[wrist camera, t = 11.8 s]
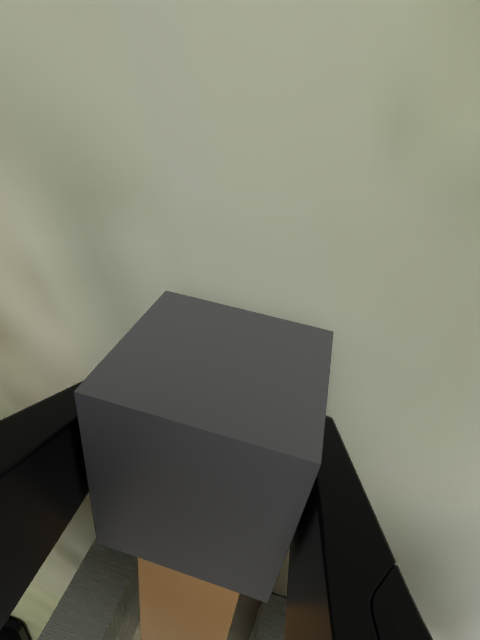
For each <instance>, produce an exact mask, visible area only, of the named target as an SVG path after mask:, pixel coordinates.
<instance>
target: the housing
mask: <svg viewBox="0 0 480 640" xmlns="http://www.w3.org/2000/svg"><path fill="white" fill-rule="evenodd" d="M286 603H287V598H284V597H281V596H278V595H275V594H272V593H271V595H270V598H269V601H268V603H265V602H263V601H262V603H261V606H260V608H259V611H258V614H257V617H256V620H255V623H254V626H253V628H252V631H251V634H250V637H249V640H284V634H285V618H286ZM139 621H140V599H139V576H138V557H136V556H133V555H130V554H127V553H124V552H121V551H119V550H116V549H113V548H110V547H107V546H105V545H102V544H99V543H97V538H96V539H95V541H94V542H93V544H92V546H91V548H90V549H89V551H88V553H87V554H86V556H85V558H84V560H83V561H82V563H81V565H80V567H79V568H78V570H77V572H76V574H75V575H74V577H73V579H72V581H71V582H70V584H69V586H68V588H67V589H66V591H65V593H64V595H63V596H62V598H61V600H60V601H59V603H58V605H57V607H56V608H55V610H54V612H53V614H52V615H51V617H50V619H49V621H48V622H47V624H46V626H45V628H44V629H43V631H42V633H41V635H40V636H39V638H38V640H132V638H133V636H134V633H135V631H136V628H137V626H138V623H139Z"/></svg>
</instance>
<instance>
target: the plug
mask: <svg viewBox="0 0 480 640" xmlns="http://www.w3.org/2000/svg"><path fill="white" fill-rule="evenodd" d="M332 340H333V331H328V330H324V329H320V328H316V327H312V326H308V325H304V324H300V323H296V322H292V321H288V320H283V319H279V318H275V317H271V316H267V315H263V314H259V313H255V312H251V311H247V310H243V309H239V308H234V307H230V306H226V305H222V304H218V303H214V302H210V301H206V300H202V299H198V298H194V297H189V296H185V295H181V294H177V293H173V292H169V291H165V292H164V293H163V294H162V296H161V297H160V298H159V299H158V300H157V301H156V302H155V303H154V304H153V305H152V306H151V308H150V309H149V310H148V311H147V312H146V313H145V314H144V315H143V316H142V317H141V318H140V320H139V321H138V322H137V323H136V324H135V325H134V326H133V327H132V328H131V329H130V331H129V332H128V333H127V334H126V335H125V336H124V337H123V338H122V339H121V340H120V341H119V343H118V344H117V345H116V346H115V347H114V348H113V349H112V350H111V351H110V352H109V354H108V355H107V356H106V357H105V358H104V359H103V360H102V361H101V362H100V363H99V364H98V366H97V367H96V368H95V369H94V370H93V371H92V372H91V373H90V374H89V375H88V376H87V378H86V379H85V380H84V381H83V382H82V383H81V384H80V385H79V386H78V387H77V389H76V390H75V391H74V396H75V402H76V409H77V415H78V422H79V428H80V435H81V441H82V448H83V454H84V461H85V467H86V473H87V480H88V486H89V493H90V499H91V506H92V512H93V519H94V525H95V532H96V538H97V543H99V544H102V545H105V546H107V547H110V548H113V549H116V550H119V551H121V552H124V553H127V554H130V555H133V556H136V557H138V576H139V599H140V622H141V640H227V637H228V633H229V630H230V626H231V623H232V619H233V616H234V612H235V608H236V605H237V601H238V598H239V594H243V595H246V596H248V597H251V598H254V599H257V600H260V601H263V602H265V603H268V601H269V598H270V595H271V593H272V590H273V588H274V585H275V582H276V580H277V577H278V575H279V572H280V569H281V567H282V564H283V562H284V559H285V556H286V554H287V551H288V549H289V546H290V544H291V541H292V538H293V536H294V533H295V531H296V528H297V525H298V523H299V520H300V518H301V515H302V512H303V510H304V507H305V505H306V502H307V499H308V497H309V494H310V492H311V489H312V487H313V484H314V481H315V479H316V476H317V474H318V471H319V468H320V466H321V459H322V448H323V438H324V427H325V416H326V405H327V394H328V384H329V373H330V362H331V351H332Z"/></svg>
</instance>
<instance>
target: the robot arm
mask: <svg viewBox="0 0 480 640" xmlns="http://www.w3.org/2000/svg"><path fill="white" fill-rule="evenodd" d="M82 382H83V381H82ZM82 382H80V383H78V384H76V385H74V386H71V387H69V388H67V389H65V390H63V391H61V392H59V393H57V394H55V395H53V396H50V397H48V398H46V399H44V400H42V401H40V402H38V403H36V404H34V405H32V406H30V407H27V408H25V409H23V410H21V411H19V412H17V413H15V414H13V415H11V416H9V417H7V418H4V419H2V420H0V640H29V639H28V637H27V635H26V632H25V630H24V628H23V626H22V625H21V624H20V623H18V622H16V621H14V620H12V619H9V618H8V617H9V616H10V614H11V613H12V611H13V610H14V608H15V607H16V605H17V603H18V602H19V600H20V599H21V597H22V596H23V594H24V592H25V591H26V589H27V588H28V586H29V585H30V583H31V581H32V580H33V578H34V577H35V575H36V574H37V572H38V571H39V569H40V567H41V566H42V564H43V563H44V561H45V560H46V558H47V556H48V555H49V553H50V552H51V550H52V549H53V547H54V545H55V544H56V542H57V541H58V539H59V538H60V536H61V535H62V533H63V531H64V530H65V528H66V527H67V525H68V524H69V522H70V520H71V519H72V517H73V516H74V514H75V513H76V511H77V509H78V508H79V506H80V505H81V503H82V502H83V500H84V498H85V497H86V495H87V494H88V492H89V486H88V480H87V473H86V467H85V461H84V454H83V448H82V441H81V435H80V428H79V422H78V415H77V409H76V402H75V396H74V391H75V390H76V389H77V387H78V386H79V385H80V384H81V383H82ZM395 563H396V561H395V558H394V556H393V554H392V552H391V549H390V547H389V545H388V543H387V540H386V538H385V536H384V534H383V531H382V529H381V527H380V524H379V522H378V520H377V518H376V515H375V513H374V511H373V509H372V506H371V504H370V502H369V500H368V497H367V495H366V493H365V491H364V488H363V486H362V484H361V482H360V479H359V477H358V475H357V473H356V470H355V468H354V466H353V463H352V461H351V459H350V457H349V454H348V452H347V450H346V448H345V445H344V443H343V441H342V439H341V436H340V434H339V432H338V430H337V427H336V425H335V423H334V421H333V419H332V418H331V417H329V416H325V427H324V438H323V448H322V459H321V466H320V468H319V471H318V474H317V476H316V479H315V481H314V484H313V487H312V489H311V492H310V494H309V497H308V499H307V502H306V505H305V507H304V510H303V512H302V515H301V518H300V520H299V523H298V525H297V528H296V531H295V533H294V536H293V538H292V541H291V544H290V556H289V571H288V587H287V603H286V618H285V634H284V640H433V638H432V637H431V635H430V633H429V631H428V629H427V627H426V625H425V623H424V621H423V619H422V617H421V615H420V613H419V611H418V609H417V607H416V605H415V602H414V600H413V598H412V596H411V594H410V592H409V590H408V588H407V585H406V583H405V581H404V578H403V576H402V574H401V572H400V569H399V567H398V566H397V565H395Z"/></svg>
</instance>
